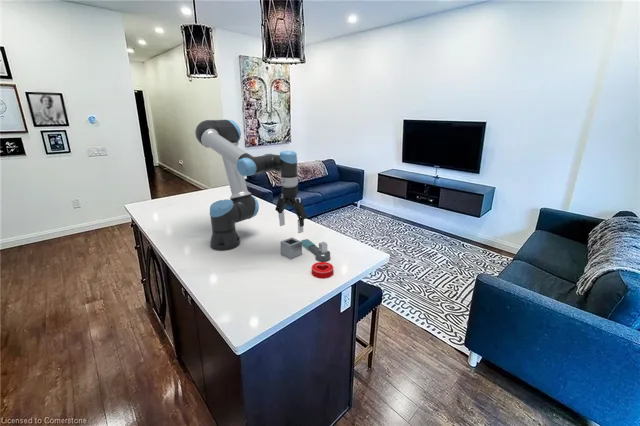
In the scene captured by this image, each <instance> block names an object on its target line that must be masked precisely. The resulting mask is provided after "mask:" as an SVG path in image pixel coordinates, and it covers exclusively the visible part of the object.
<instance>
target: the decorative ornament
mask: <svg viewBox="0 0 640 426" xmlns="http://www.w3.org/2000/svg"><path fill="white" fill-rule="evenodd" d="M334 268H335V267H334V266H333V264H332V263H330V262H328V261H327V262H319V261H317V262H315V263H313V264H312V265H311V275H312V276H313V277H314V278H317V279H329V278H331V277H332V276H333V275H334V270H335V269H334Z"/></svg>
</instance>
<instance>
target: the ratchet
mask: <svg viewBox="0 0 640 426" xmlns="http://www.w3.org/2000/svg"><path fill="white" fill-rule="evenodd" d="M300 241H301V242H302V248H305V249H306V250H307V251H309V252H311V254H313V255H314V257H315V260H316V261H317V262H327V263H328V262H329V261H330V260H331V252H330V250H328V243H327V242H325V241H321V242H318V246H316V244H315V243H314V242H313V241H311V240H309V238H305V239H302V240H300Z"/></svg>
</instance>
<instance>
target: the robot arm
mask: <svg viewBox="0 0 640 426" xmlns="http://www.w3.org/2000/svg"><path fill="white" fill-rule="evenodd" d="M194 133H195V138H196V140H197V142H198V143H199V144H200V145H201V146H204V147H205V148H208V149H211V150H213V151H215V152H216V153H217V154H219V155H220V156H221V158H222V161H223V165H224V169H225V172H226V177H227V181H228V185H229V188H230V192H231V196H230V197H229V199H220V200H217V201H214V202H212V203H211V204H210V207H209V216H210V224H211V231H212V232H211V233H212V234H211V237H210V241H209V243H210V244H209V245H210V248H211V249H212V250H215V251H228V250H233V249H235V248H237V247H239V246H240V245H241V239H240V236H239V234H238V232H237V230H236V224H237V223H240V222H243V221H245V220H250V219H252V218H254V217H256V216H257V215H258V213H259V210H260V209H259V208H260V207H259V206H260V205H259V201H258V199H257V197H255V196H253V195H252V192H250V191H249V190H248V186H247V183H246V179H245V177H247V176H248V177H250V176H253V175H258V174H263V173H269V172H279V173H280V179H281V180H280V183H281V192H280V193H278V199H277V203H276V206H275V211H276V212H277V213H278V220H279V222H278V223H279V227H282V226H285V225H286V222H285V209H286V208H287V206H290V207H291V208H292V209H293V210H294V213H295V215H296V216H297V218H298V219H297V233H298V234H302V233H304V226H305V220H307V219H308V214H307V213H306V210H305V207H304V204H303V198H302V197H298V196H297V195H298V193H299V186H298V185H299V180H298V178H299V177H298V157H297V152H296V151H293V150H284V151H280V152H279V154H275V153H274V154H273V153H264V154H262V155H257V156H253V155H251V154H249V153H248V152H247V151H245V150H244V149H242V148H241V147H239V144H240V143H239V141H240V140H241V135H242V132H241V128H240V126H239V125H238V123H237V122H235V120H231V119H206V120H203V121H200V122H199V123H198V124H197V126H196V128H195V131H194Z"/></svg>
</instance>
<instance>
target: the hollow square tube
mask: <svg viewBox="0 0 640 426" xmlns="http://www.w3.org/2000/svg"><path fill="white" fill-rule="evenodd" d="M279 243H280V255H281V256H283V257H285V258H287V259H289V260H293V259H295V258H297V257H300V256H302V255H303V246H302V242H301V240H298V239H297V238H294V237H290V238H287V239H284V240H281V241H280V242H279Z"/></svg>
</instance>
